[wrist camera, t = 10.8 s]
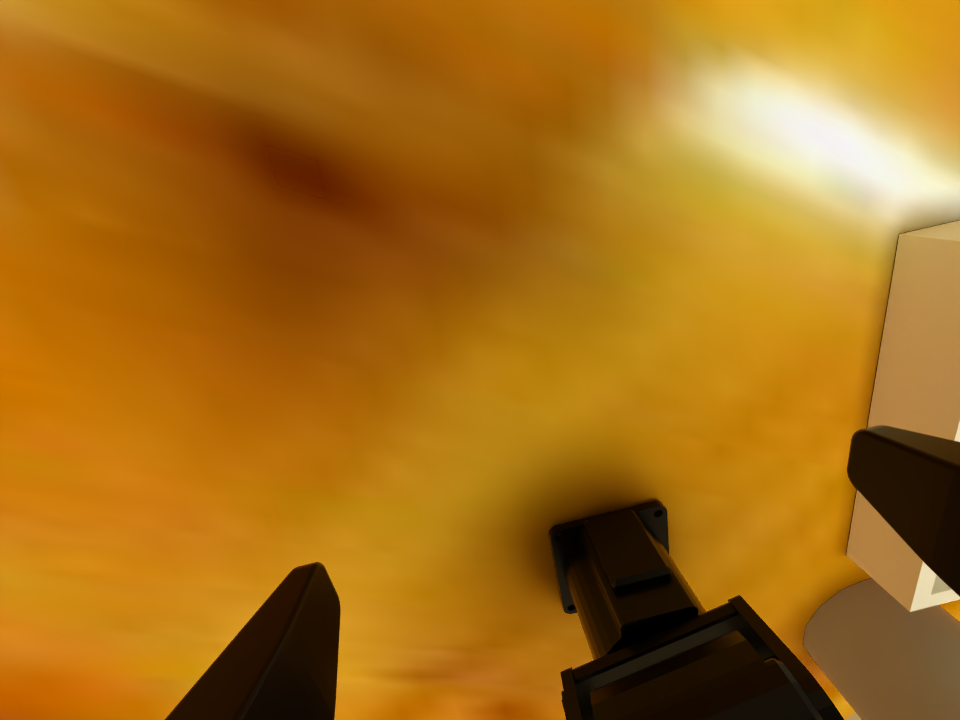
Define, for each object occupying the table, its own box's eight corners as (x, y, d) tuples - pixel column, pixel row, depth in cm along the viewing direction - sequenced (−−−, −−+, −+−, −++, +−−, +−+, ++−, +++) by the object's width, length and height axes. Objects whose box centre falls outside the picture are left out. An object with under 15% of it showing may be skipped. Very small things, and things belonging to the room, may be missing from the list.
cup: (846, 569, 29) (1046, 754, 19) (942, 582, 30) (1168, 758, 21) (782, 659, 31) (930, 857, 22) (873, 666, 33) (1046, 854, 24)
